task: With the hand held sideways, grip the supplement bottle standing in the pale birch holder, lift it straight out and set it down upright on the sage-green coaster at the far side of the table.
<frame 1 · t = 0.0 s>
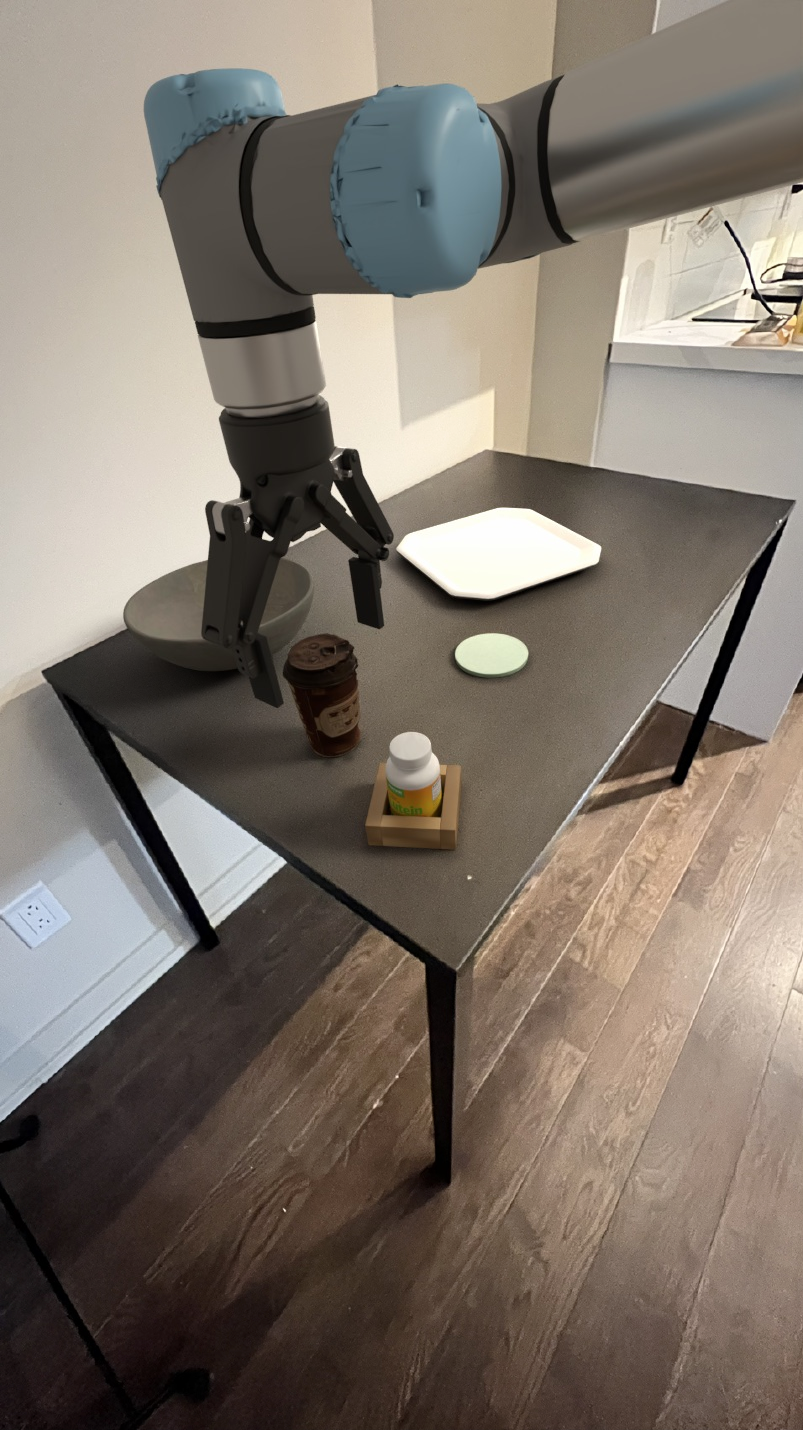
hand: (323, 660, 56), 18 cm above the table, tool pointing down, fingers open, 13 cm apart
plate: (495, 559, 109), on the table
bowl: (237, 650, 93), on the table
holder: (416, 813, 65), on the table
coffee cup: (337, 741, 75), on the table
coaster: (491, 656, 86), on the table
supplement bottle: (417, 815, 65), resting in holder
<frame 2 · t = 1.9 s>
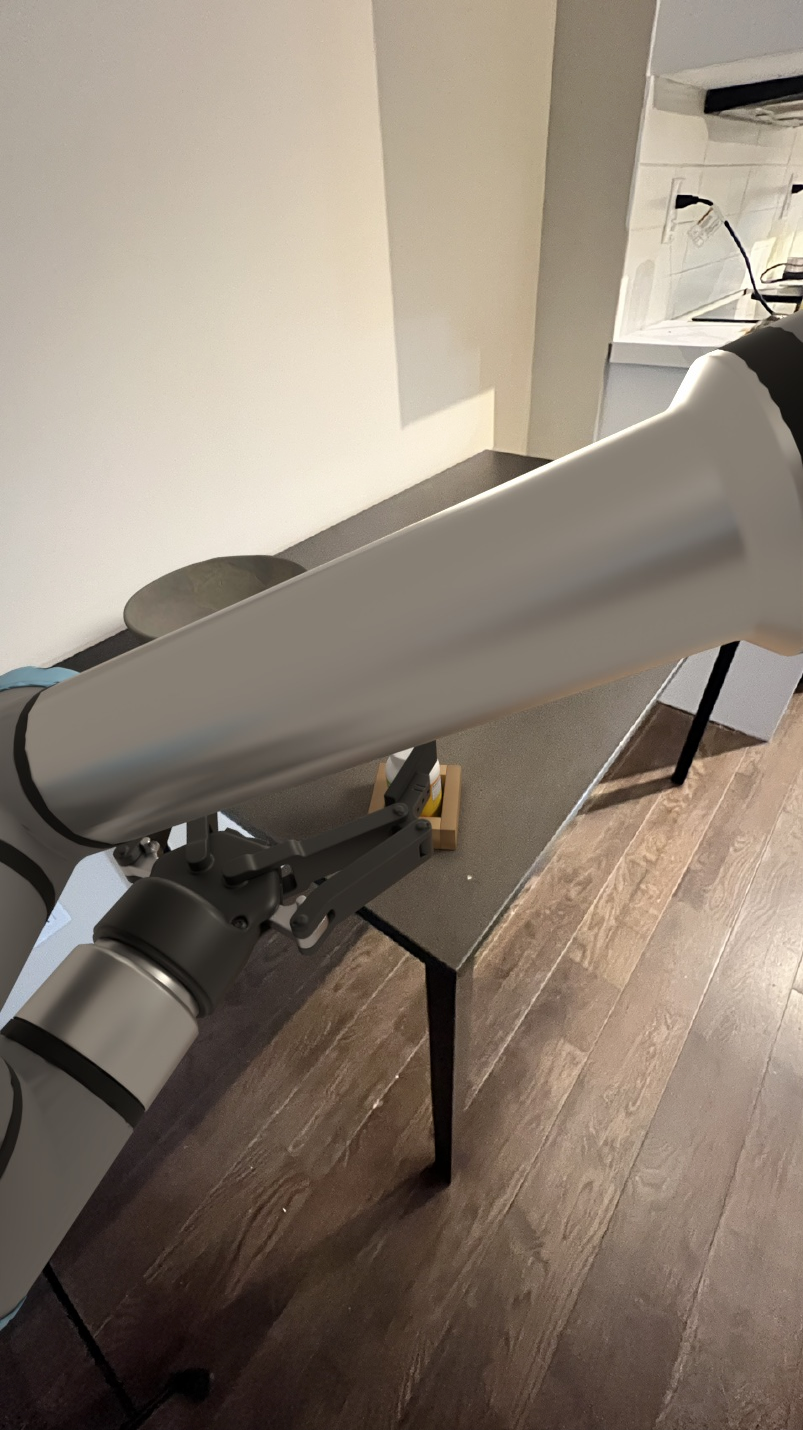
hand: (346, 723, 46), 20 cm above the table, tool horizontal, fingers open, 13 cm apart
nothing on the table moved.
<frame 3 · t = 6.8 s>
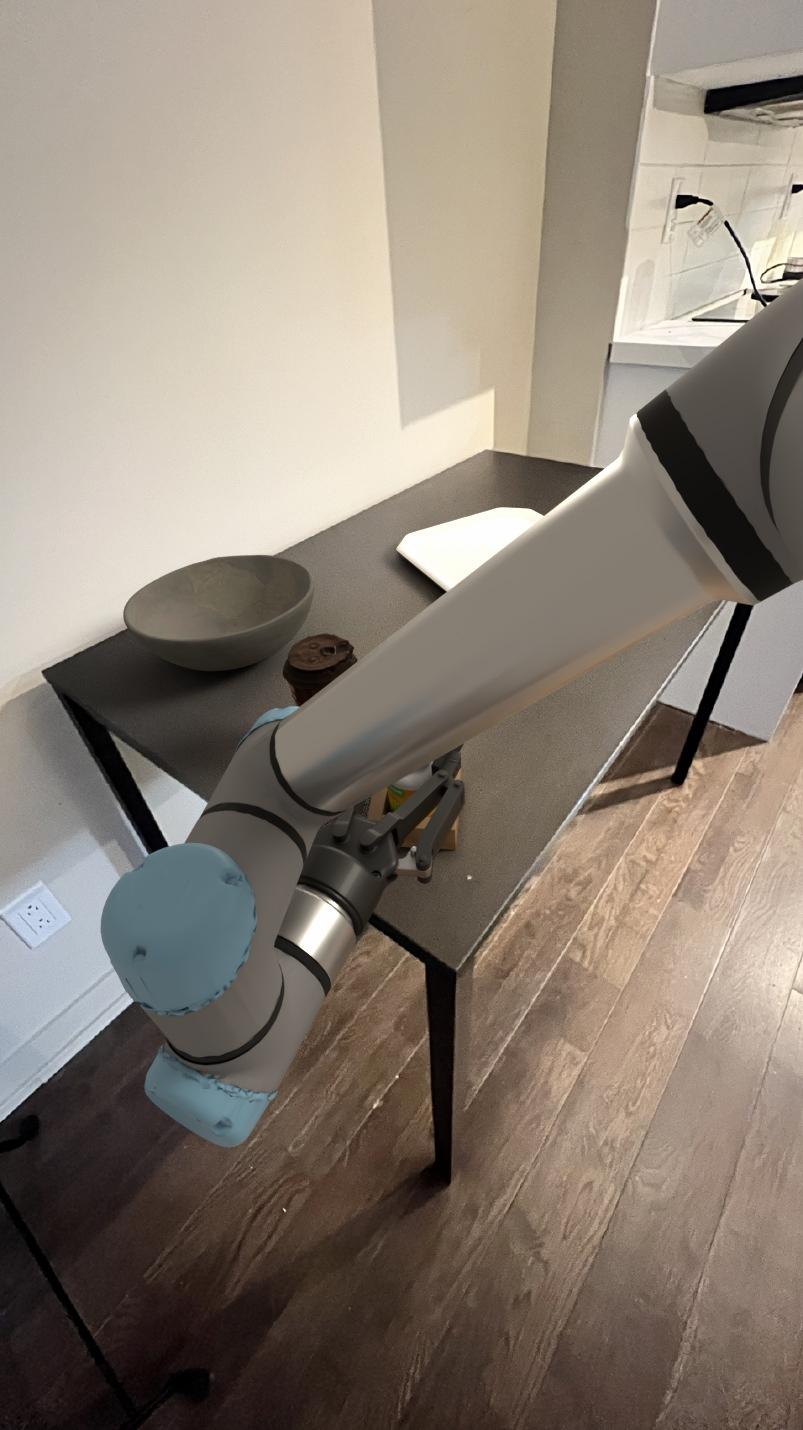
hand: (431, 726, 64), 8 cm above the table, tool horizontal, fingers closed on supplement bottle, 5 cm apart
supplement bottle: (417, 815, 65), resting in holder, touching gripper
everything else where it was.
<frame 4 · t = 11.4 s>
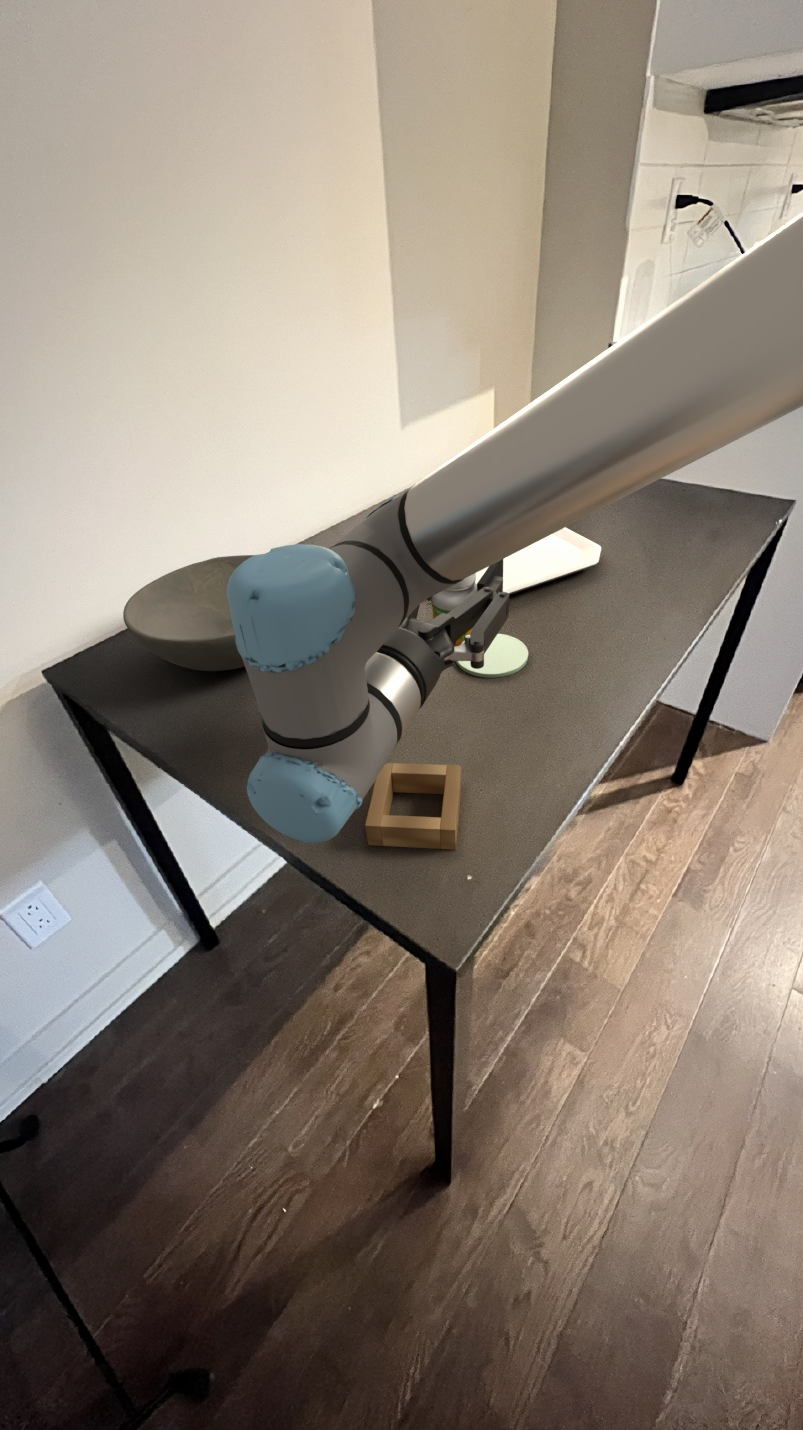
hand: (473, 564, 69), 18 cm above the table, tool horizontal, fingers closed on supplement bottle, 5 cm apart
supplement bottle: (458, 650, 70), point 10 cm above the table, touching gripper
everything else where it was.
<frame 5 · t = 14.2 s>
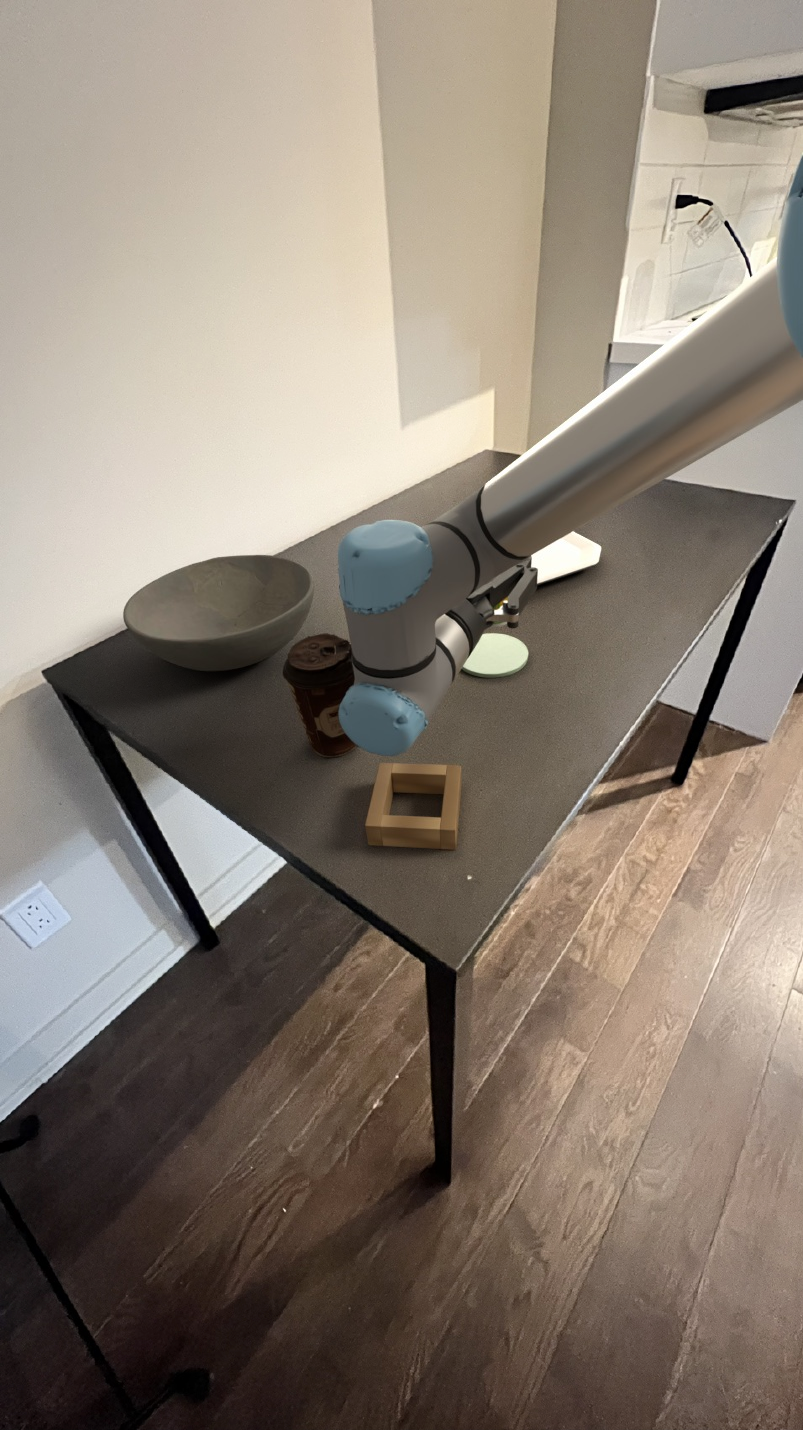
hand: (504, 545, 81), 14 cm above the table, tool horizontal, fingers closed on supplement bottle, 5 cm apart
supplement bottle: (491, 619, 82), point 6 cm above the table, touching gripper
everything else where it was.
when the fingers open (8 cm above the table, at t = 16.1 s): supplement bottle stays where it is, resting on coaster.
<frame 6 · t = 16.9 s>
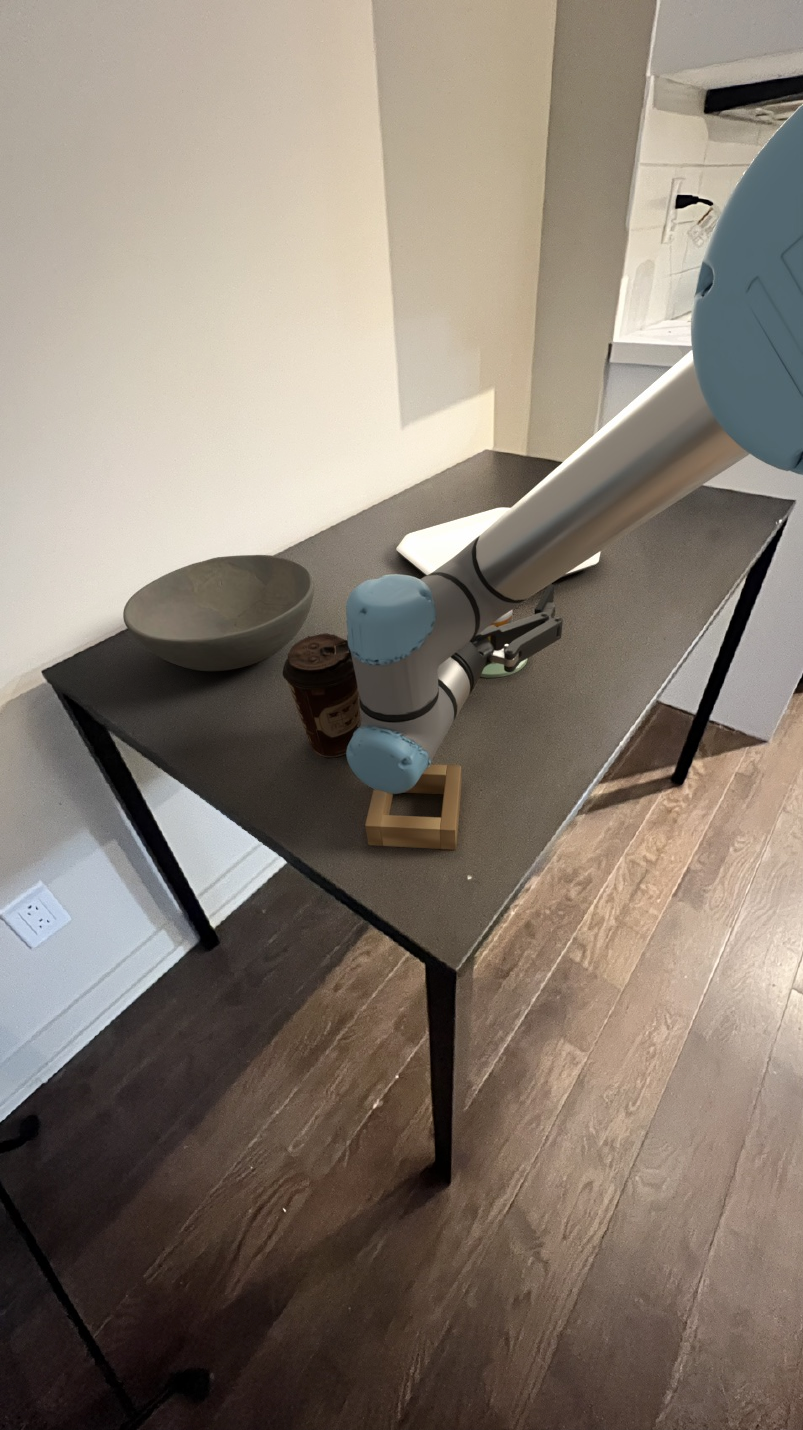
hand: (499, 586, 82), 9 cm above the table, tool horizontal, fingers open, 13 cm apart
supplement bottle: (491, 653, 86), resting on coaster
everything else where it was.
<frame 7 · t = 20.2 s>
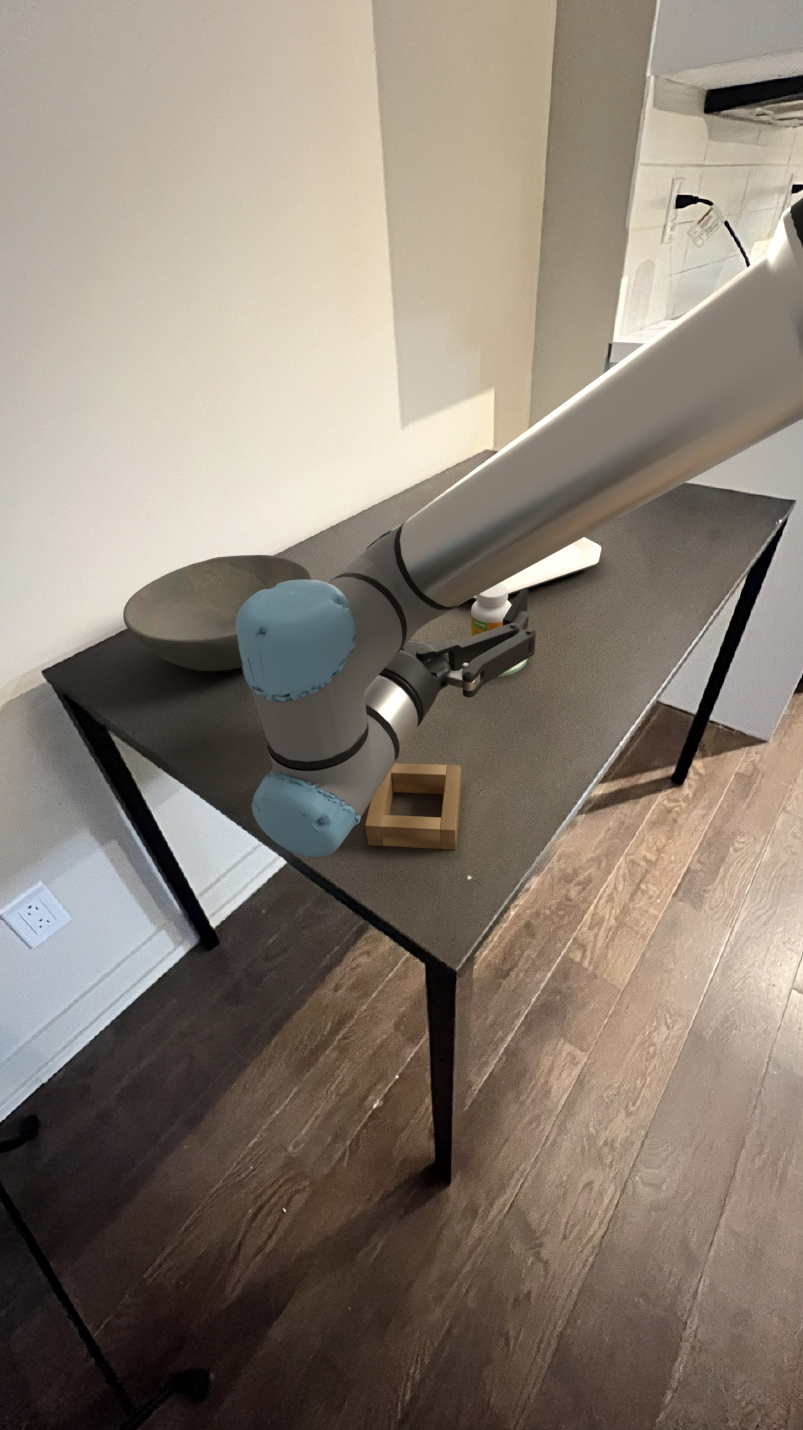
hand: (465, 592, 70), 15 cm above the table, tool horizontal, fingers open, 13 cm apart
nothing on the table moved.
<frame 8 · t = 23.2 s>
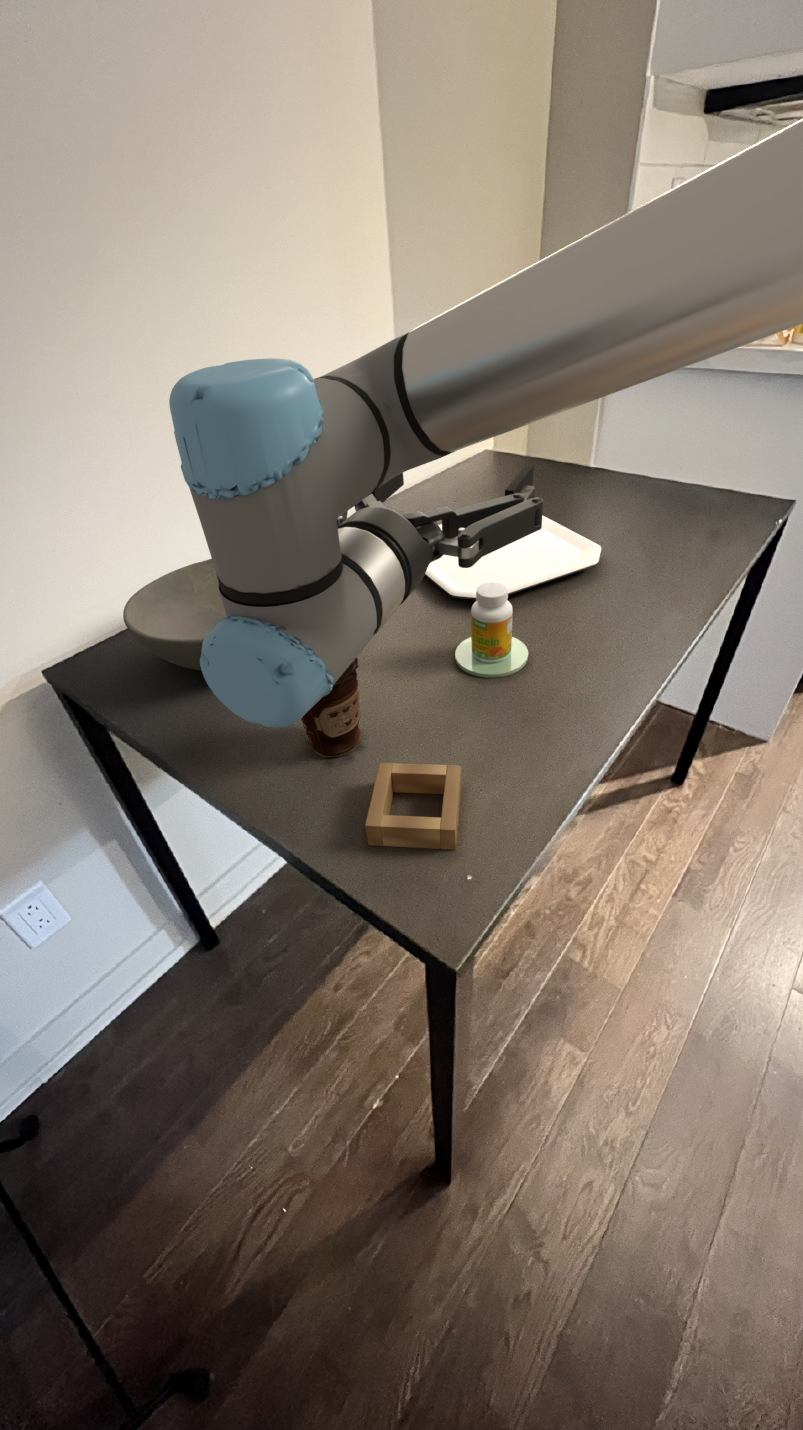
hand: (461, 475, 62), 28 cm above the table, tool horizontal, fingers open, 13 cm apart
nothing on the table moved.
at the end: supplement bottle inside the target area on the coaster (0.0 cm from its centre), point 0.4 cm above the coaster's base; supplement bottle tilted 0°; the gripper is holding nothing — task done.
